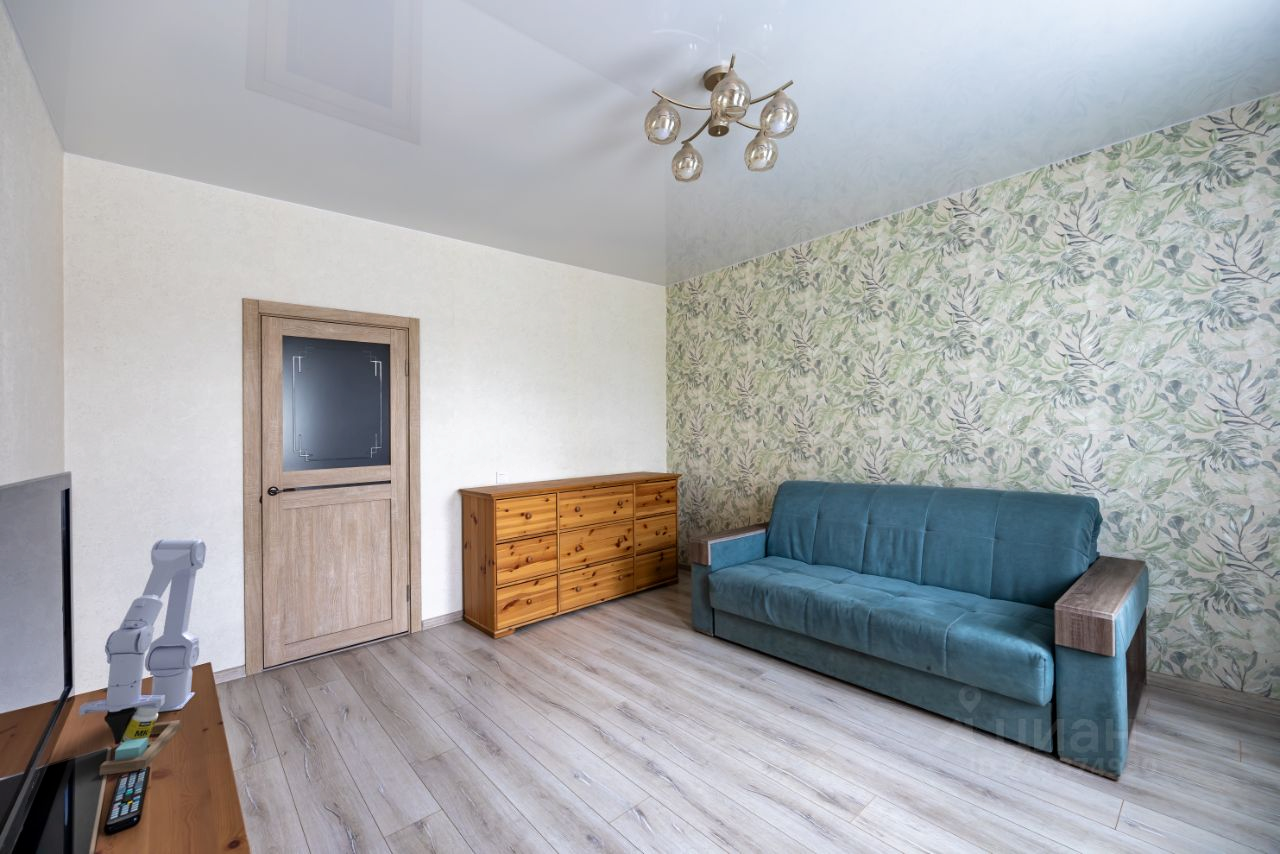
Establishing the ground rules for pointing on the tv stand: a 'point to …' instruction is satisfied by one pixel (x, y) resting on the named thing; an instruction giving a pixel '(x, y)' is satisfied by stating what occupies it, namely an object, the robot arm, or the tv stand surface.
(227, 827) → the tv stand surface
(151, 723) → the supplement bottle
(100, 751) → the tv stand surface
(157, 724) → the frame
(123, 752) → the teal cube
